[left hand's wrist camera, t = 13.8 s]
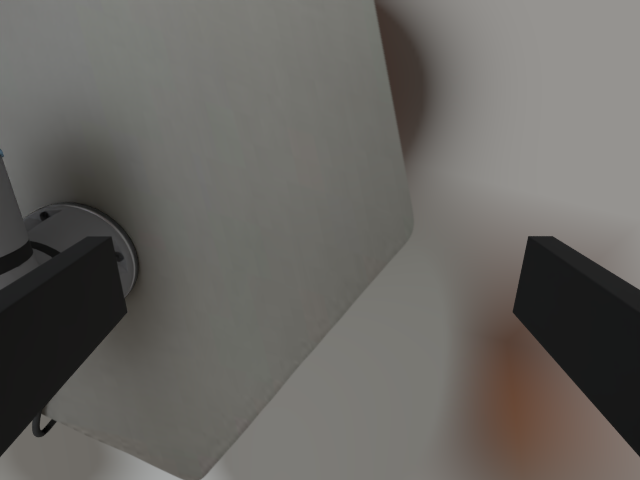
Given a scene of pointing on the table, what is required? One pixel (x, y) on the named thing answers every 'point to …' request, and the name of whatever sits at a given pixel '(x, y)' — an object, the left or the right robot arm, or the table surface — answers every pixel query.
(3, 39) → the table surface
